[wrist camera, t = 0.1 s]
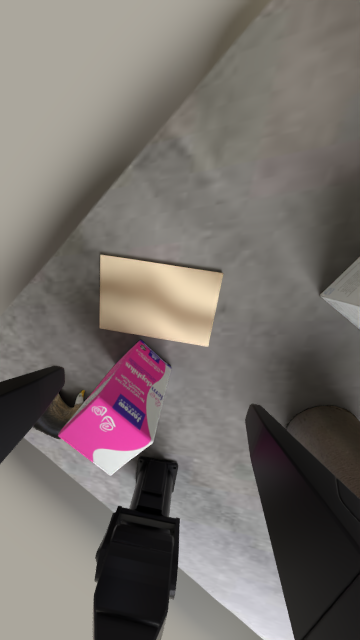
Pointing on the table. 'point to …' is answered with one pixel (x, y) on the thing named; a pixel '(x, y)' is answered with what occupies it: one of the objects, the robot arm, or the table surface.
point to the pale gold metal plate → (158, 299)
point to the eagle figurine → (57, 416)
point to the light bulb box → (346, 293)
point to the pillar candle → (331, 441)
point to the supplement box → (121, 410)
